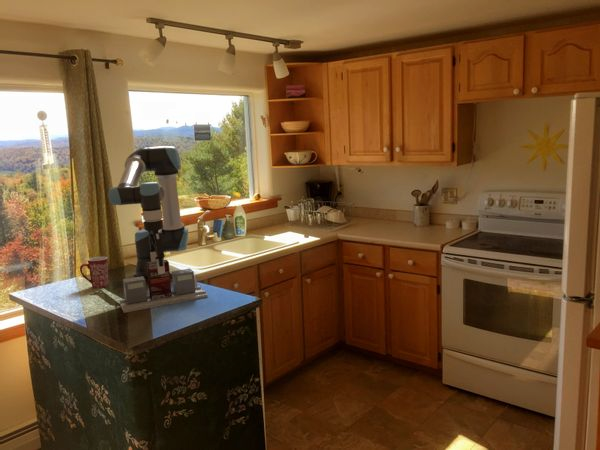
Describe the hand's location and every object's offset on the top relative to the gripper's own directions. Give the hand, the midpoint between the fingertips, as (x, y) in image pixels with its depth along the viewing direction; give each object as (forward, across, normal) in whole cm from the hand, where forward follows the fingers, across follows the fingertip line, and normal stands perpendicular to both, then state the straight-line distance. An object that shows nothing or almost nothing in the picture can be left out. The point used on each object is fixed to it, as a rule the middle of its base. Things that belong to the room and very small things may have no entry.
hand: (158, 270), depth 210 cm
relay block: (+14, -11, +15) cm, 23 cm away
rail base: (+13, +1, +1) cm, 13 cm away
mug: (+14, -43, -22) cm, 50 cm away
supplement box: (+12, +1, 0) cm, 12 cm away
